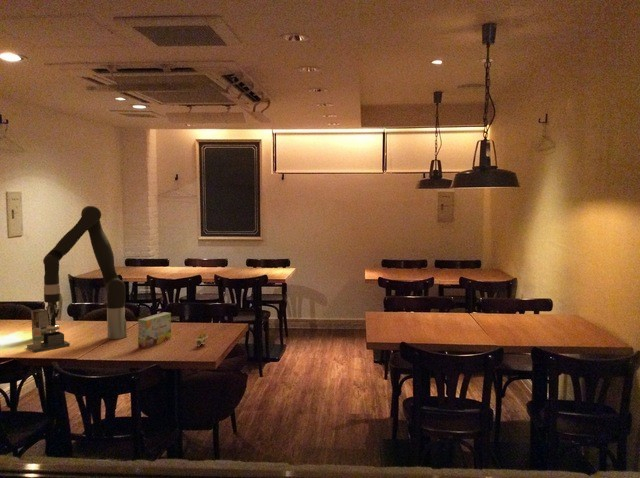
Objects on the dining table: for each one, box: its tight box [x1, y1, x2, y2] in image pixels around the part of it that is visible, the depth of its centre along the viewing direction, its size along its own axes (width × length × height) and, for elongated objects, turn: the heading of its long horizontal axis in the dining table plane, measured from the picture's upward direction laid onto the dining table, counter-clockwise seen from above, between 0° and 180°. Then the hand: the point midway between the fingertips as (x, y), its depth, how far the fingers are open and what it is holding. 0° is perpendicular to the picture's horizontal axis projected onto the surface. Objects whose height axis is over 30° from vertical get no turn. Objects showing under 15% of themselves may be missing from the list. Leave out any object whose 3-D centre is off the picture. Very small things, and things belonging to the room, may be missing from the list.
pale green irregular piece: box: [194, 332, 209, 347], centre depth 273 cm, size 12×18×7 cm, turn 168°
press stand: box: [26, 328, 71, 353], centre depth 270 cm, size 17×12×10 cm
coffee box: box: [30, 308, 51, 342], centre depth 285 cm, size 9×6×16 cm
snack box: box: [137, 311, 172, 349], centre depth 278 cm, size 21×6×15 cm, turn 160°
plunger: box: [35, 323, 60, 334], centre depth 269 cm, size 12×6×4 cm, turn 135°
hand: (52, 325), depth 271 cm, fingers closed
